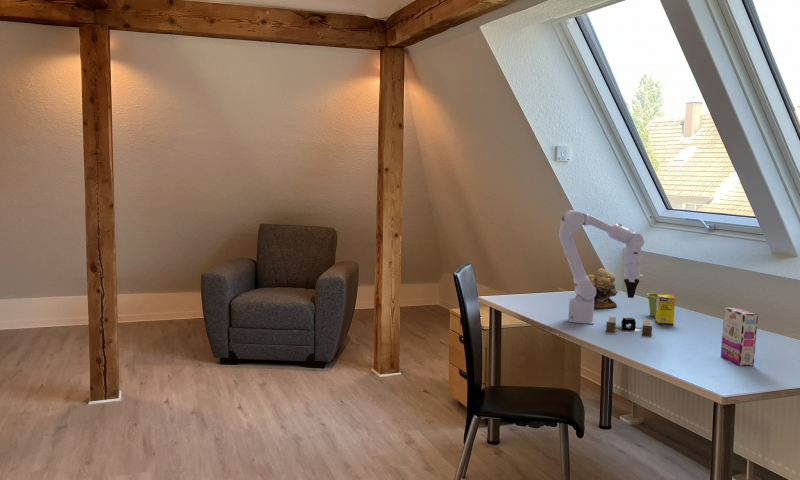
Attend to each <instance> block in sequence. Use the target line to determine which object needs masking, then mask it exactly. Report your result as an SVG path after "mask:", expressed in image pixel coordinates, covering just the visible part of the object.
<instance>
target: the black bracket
mask: <svg viewBox="0 0 800 480" xmlns="http://www.w3.org/2000/svg"><path fill="white" fill-rule="evenodd" d="M636 323H637V321H636V318H634V317H622V319H621V326H620V327H619V326H618V327H617V326H616V327H615V330H618V331H620V332H628V331H629V332H631V331H633V332H636V331H642V329H643V328H642V329H641V328H639V327H638V326H636V325H637V324H636Z"/></svg>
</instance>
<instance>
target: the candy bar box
mask: <svg viewBox="0 0 800 480" xmlns="http://www.w3.org/2000/svg"><path fill="white" fill-rule="evenodd" d="M723 309H724V312H723V323H722V324H723V325H722V333H721V334H722V335H721V336H722V338H721V348H720V358H723V359H725V360H726V361H729V362H731V363H733V364H735V365H737V366H739V367H754V366H755V354H756V353H755V352H756V344H757V343H756V340H757V339H756V338H757V330H758V329H757V328H758V319H759V318H758V317H759V314H757V313H754V312H752V311H748V310H747V309H743V308H739V307H724V308H723Z"/></svg>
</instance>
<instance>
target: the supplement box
mask: <svg viewBox="0 0 800 480" xmlns="http://www.w3.org/2000/svg"><path fill="white" fill-rule="evenodd" d="M675 304H676V297H674V295H670V294H668V295H657V301H656V317H655V319H654V322H655V323H656V324H657V325H660V326H661V325H663V326H674V320H675V319H674V318H675Z"/></svg>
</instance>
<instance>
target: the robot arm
mask: <svg viewBox="0 0 800 480" xmlns="http://www.w3.org/2000/svg"><path fill="white" fill-rule="evenodd" d="M582 226H584V227H585V226H592V227H594V228H596V229H598V230H602V231H604V232H606V234H607V235H608V237H609V238H611V239H613V240H616V241H618V242H620V243H622V244H625V258H624V259H625V260H624V273H623V276H624V277H625V278H624V280H623V281H624V284H625V287H626V295H627V298H629V299H634V297H635V294H636V289H637V287H638V285H639V283H640V279H638V278H643V276H644V274H641V273H640V272H641V263H642V262H641V261H642V260H641V259H642V247H643V246H644V244H645V240H644V237H643V236H642V234H640V233H638V232H635V231H634V229H632V228H628V227H627V228H626V227H625V226H623V223H622V224H621V223H613V224H610V223H607V222H605V221H603V220H602V219H599V218H598V217H596V216H593V215H592V214H588V213H583V212H581V211H578V210H575V209H568V210H566V211H565V212H564V213H563V215H562V216H561V217H560V224H559V231H558V239H559V241H560V244H561V247H562V249H563V253H564V254H565V257H566V260H567V263H568V265H569V268H570V271H571V274H572V276H573V283H574V288H573V290H574V292H575V294H576V295H575V296H574V297H575V298H570V299H569V305H568V307H569V308H568V315H567V316H568V323H578V324H587V325H588V324H589V325H594V323H595V320H596V319H595V318H594V312H595V311H594V310H595V309H594V297H595V296H596V288H595V287H594V286H593V285H592V284H591V282H590V280H589V278H588V276H587V272H586V270H585V267H584V264H583V261H582V258H581V255H580V254H579V251H578V248H577V246H576V243H575V240H574V236H575V234H576V232H577V231H578V230H579V229H580V228H582Z"/></svg>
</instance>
